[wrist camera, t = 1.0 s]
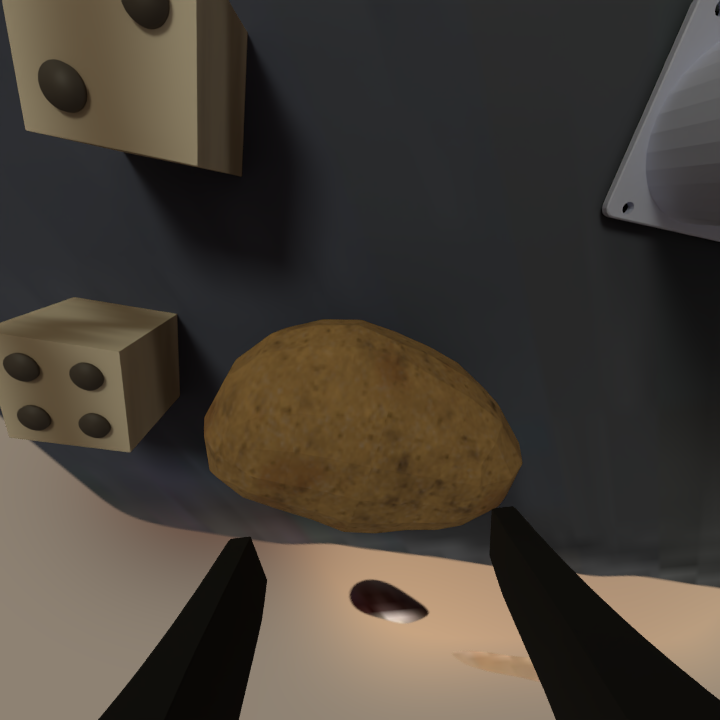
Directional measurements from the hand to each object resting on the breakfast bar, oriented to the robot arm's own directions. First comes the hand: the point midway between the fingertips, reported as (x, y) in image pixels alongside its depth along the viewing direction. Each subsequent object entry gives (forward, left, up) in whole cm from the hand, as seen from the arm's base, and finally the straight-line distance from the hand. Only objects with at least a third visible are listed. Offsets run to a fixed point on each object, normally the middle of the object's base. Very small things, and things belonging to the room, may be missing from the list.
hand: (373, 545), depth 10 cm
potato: (0, 0, -11) cm, 11 cm away
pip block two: (+10, -12, -10) cm, 19 cm away
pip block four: (+13, 0, -10) cm, 17 cm away
